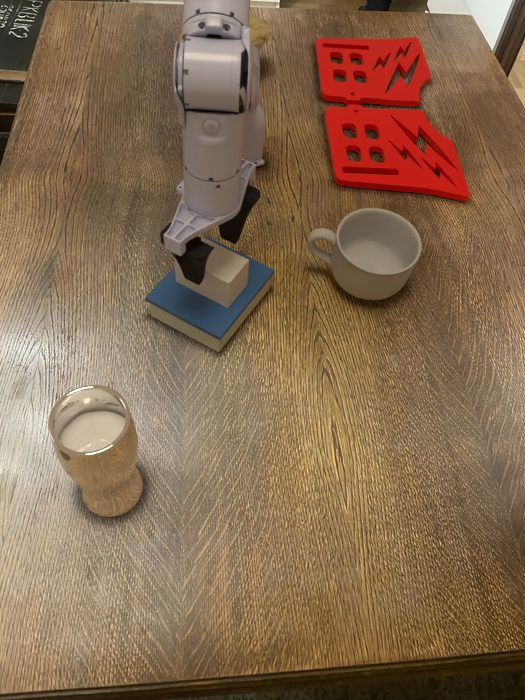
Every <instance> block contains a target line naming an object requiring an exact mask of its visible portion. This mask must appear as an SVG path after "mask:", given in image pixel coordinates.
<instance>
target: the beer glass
mask: <svg viewBox="0 0 525 700" xmlns="http://www.w3.org/2000/svg"><path fill="white" fill-rule="evenodd" d="M47 430H48V435H49V436H50V440H51V443H52V446H53V449H54V452H55V455H56V457H57V460H58V462H59V463H60V465H61V467H62V469H63V470H64V471H65V473H66V474H67V475H68V476H69V478H71V479H72V480H73V481H74V482H75V483H76V484H77V485H78V486H79V487H81V496H82V500H83V503H84V505H85V506H86V508H87V509H88V510H89V511H90V512H92V513H94V514H95V515H97V516H99V517H102V518H103V517H104V518H114V517H119V516H122V515H124V514H127V513H129V512H130V511H131V510H132V509H133V508H134V507H135V506H136V505H137V504H138V502H139V501H140V499H141V497H142V494H143V489H144V481H143V477H142V474H141V472H140V470H139V469H138V468H137V461H138V457H139V456H138V455H139V439H138V438H139V437H138V431H137V428H136V424H135V421H134V418H133V416H132V413H131V410H130V408H129V404H128V402H127V400H126V398H124V397H123V395H122V394H120V392H118V391H117V390H115V389H113V388H112V387H108V386H107V385H106V386H105V385H101V384H100V385H99V384H87V385H83V386H78V387H76V388H73V389H71V390H70V391H68V392H66V393H65V394H63V395H62V396H61V397H60V398H59V399H58V400H57V401H56V402H55V404H53V407H52V409H51V410H50V413H49V416H48V421H47Z"/></svg>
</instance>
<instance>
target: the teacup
mask: <svg viewBox="0 0 525 700" xmlns="http://www.w3.org/2000/svg"><path fill="white" fill-rule="evenodd" d="M317 240H325V241H327V242H328V243H329V246H330V249H331V253H330V252H328V251H326V250H324V249H322V248H320V246H319V245H317V244H316V241H317ZM306 246H307V249H308V252H309V253H310V254H311V255H313V256H314V257H315V258H316V259H318V260H320V261H321V262H323V263H324V264H325V265H326V267H329V268H330V270H331V273H332V276H333V278H334V280H335V282H336V283H337V284H338V286H339V287H340V288H341V289H342V290H343V291H345V292H346V293H348V294H349V295H351V296H353V297H355V298H358V299H361V300H366V301H380V300H385V299H387V298H390V297H392V296H394V295H396V294H397V293H398V292H399V291H400V290H401V289H402V288H403V287H404V286H405V285H406V283H407V282H408V281H409V278H410V276H411V275H412V272H413V270H414V268H415V265H416V264H417V263H418V261H419V259H420V258H421V255H422V250H423V243H422V239H421V236H420V234H419V232H418V230H417V228H416V227H415V226H414V225H413V224H412V223H411V222H410V221H409V220H407V219H406V218H404V217H403V216H402V215H400V214H398V213H396V212H393V211H391V210H388V209H385V208H379V207H365V208H359V209H356V210H353V211H351V212H350V213H347V214H346V215H345V216H344V217H343V218H342V219H341V220H340V222H339V224H338V225H337V228H336V232H334V231H332V230H331V229H328V228H325V227H319V228H315V229H313V230H312V231H311V232H309V234H308V236H307V239H306Z"/></svg>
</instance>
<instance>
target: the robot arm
mask: <svg viewBox="0 0 525 700" xmlns="http://www.w3.org/2000/svg"><path fill="white" fill-rule="evenodd" d="M250 13H251V0H183V7H182V22H181V23H182V24H181V30H182V39H181V43H180V45H179V42H178V41H177V40H176V41H175V44H174V48H173V57H172V88H173V89H172V90H173V96H174V101H175V105H176V111H177V120H178V127H179V128H180V127H181V142H182V144H181V145H182V165H183V166H182V168H183V171H182V172H183V179H182V181H180V182H179V183H178V184H177V186H176V194H177V195H179V196H181V198H180V200H179V203H178V207H177V209H176V211H175V213H174V217H173V219H172V221H171V222H169V223H168V224H167V225H166V226H165V227H164V228H163V229H162V230H161V232H160V233H159V238H160V243H161V244H162V245H163V247H164V249H165V250H167V251H169V252H170V253H171V254H172V256H173V257H175V259H176V260H177V262H178V264H179V266H180V268H181V270H182V273H183V275H184V278H185V279H187V280H189V281H191V282H193V283H195V284H197V285H200V284H201V282H202V281H203V279H204V275H205V268H206V263H207V259H208V257H209V255H210V253H211V252H212V250H213V249H214V248H215V247H213V246H211V245H209V244H207V243H205V242H203V241H201V237H202V236H201V235H203V234H204V233H208V232H209V231H210V230H212V229H214V228H217V227H218V232H219V236H220V238H221V239H223V240H225V241H227V242H229V243H231V244H233V245H236V244H237V243H238V242H239V240H240V238H241V236H242V234H243V233H242V232H243V230H244V227H245V225H246V222H247V219H248V217H249V215H250V213H251V212H252V211H253V208H254V206H255V205H256V204H257V202H258V201H259V200H260V199H261V193H262V192H261V191H260V189H258V188H257V187H255V186H253V185H251V184H250V183H252V182H253V181H254V180H255V178H256V169H257V167H261V166H264V165H265V160H264V159H263V155H264V153H263V152H264V141H265V140H264V139H265V130H266V122H265V115H264V112H263V111H264V110H263V109H262V107H261V105H260V103H259V98H260V97H259V94H260V80H261V79H260V77H261V65H260V64H261V62H260V61H261V54H260V53H259V52H260V51H258V48H257V47H256V46H255V45H253V44H252V43H251V37H250V27H249V15H250ZM198 236H201V237H198Z"/></svg>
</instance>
